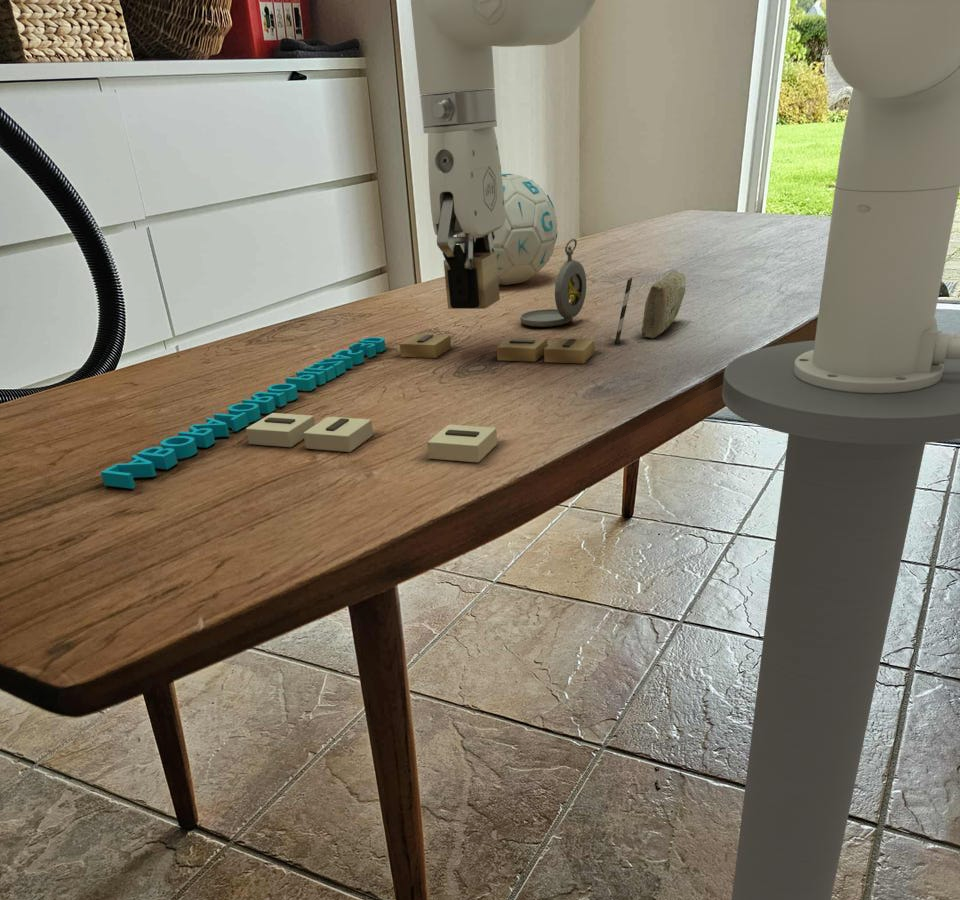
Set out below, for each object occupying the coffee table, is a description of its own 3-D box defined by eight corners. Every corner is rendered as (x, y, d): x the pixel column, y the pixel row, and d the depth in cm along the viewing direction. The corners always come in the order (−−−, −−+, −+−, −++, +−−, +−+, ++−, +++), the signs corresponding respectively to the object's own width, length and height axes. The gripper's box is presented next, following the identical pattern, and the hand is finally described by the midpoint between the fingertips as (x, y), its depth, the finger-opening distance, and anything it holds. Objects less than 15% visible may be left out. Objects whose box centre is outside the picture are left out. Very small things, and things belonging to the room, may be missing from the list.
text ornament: (132, 488, 73) (128, 475, 73) (104, 485, 74) (100, 472, 74) (389, 347, 108) (388, 337, 107) (368, 346, 109) (366, 336, 108)
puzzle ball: (498, 271, 147) (493, 168, 139) (577, 277, 139) (576, 168, 131) (440, 289, 137) (431, 180, 129) (521, 296, 129) (517, 180, 121)
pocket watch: (519, 318, 117) (516, 235, 112) (584, 314, 117) (584, 231, 111) (521, 334, 110) (518, 246, 105) (590, 329, 110) (590, 241, 104)
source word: (594, 353, 100) (594, 337, 100) (583, 363, 97) (583, 347, 96) (417, 346, 108) (415, 332, 107) (400, 356, 104) (399, 341, 104)
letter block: (499, 299, 101) (496, 251, 99) (485, 308, 98) (481, 258, 95) (463, 300, 103) (459, 252, 100) (447, 308, 99) (443, 259, 97)
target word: (497, 444, 77) (496, 425, 76) (478, 462, 74) (477, 443, 73) (275, 428, 85) (272, 410, 84) (248, 444, 81) (244, 426, 81)
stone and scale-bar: (614, 344, 103) (642, 318, 112) (651, 353, 102) (677, 327, 111) (627, 280, 99) (655, 259, 108) (666, 289, 98) (692, 267, 107)
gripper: (461, 115, 83) (477, 320, 92) (521, 107, 96) (530, 286, 105) (388, 121, 85) (411, 320, 95) (456, 112, 99) (471, 287, 108)
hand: (473, 300), depth 100 cm, fingers closed on letter block, 4 cm apart
